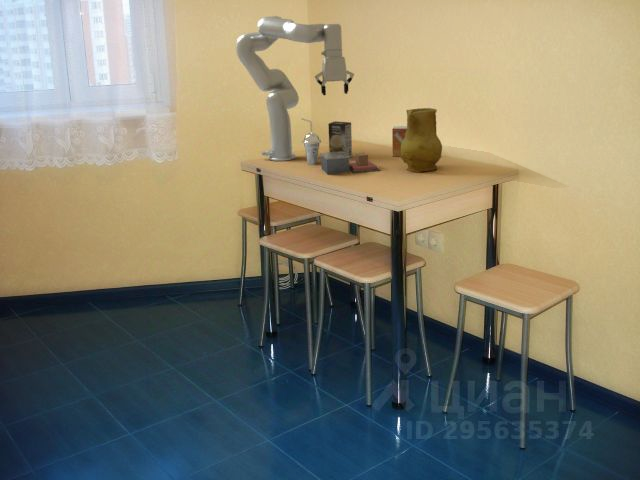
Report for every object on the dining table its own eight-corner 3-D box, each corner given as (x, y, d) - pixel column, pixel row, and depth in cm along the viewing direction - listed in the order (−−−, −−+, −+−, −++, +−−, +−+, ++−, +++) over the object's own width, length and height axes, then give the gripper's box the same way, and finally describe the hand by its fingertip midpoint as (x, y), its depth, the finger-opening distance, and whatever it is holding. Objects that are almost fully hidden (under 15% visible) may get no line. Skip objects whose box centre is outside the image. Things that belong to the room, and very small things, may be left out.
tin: (327, 174, 306) (326, 158, 304) (321, 169, 317) (320, 153, 315) (350, 172, 308) (349, 156, 306) (343, 166, 319) (342, 151, 317)
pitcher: (393, 168, 312) (392, 109, 304) (430, 162, 318) (430, 105, 311) (413, 175, 297) (413, 114, 289) (452, 169, 303) (453, 109, 296)
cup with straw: (307, 166, 324) (304, 121, 317) (300, 162, 332) (297, 118, 325) (325, 164, 326) (323, 119, 320) (317, 160, 335) (315, 116, 328)
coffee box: (328, 158, 339) (327, 123, 334) (335, 155, 344) (334, 121, 339) (345, 159, 334) (344, 124, 329) (352, 156, 339) (351, 122, 334)
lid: (353, 171, 308) (353, 157, 306) (347, 165, 319) (346, 152, 317) (376, 168, 310) (376, 155, 308) (369, 163, 321) (369, 150, 319)
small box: (392, 156, 335) (391, 128, 331) (393, 154, 340) (393, 126, 336) (410, 156, 333) (410, 128, 329) (411, 154, 339) (411, 125, 335)
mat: (353, 173, 306) (353, 172, 306) (344, 165, 321) (344, 164, 321) (380, 170, 308) (380, 169, 308) (370, 163, 323) (370, 162, 323)
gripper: (315, 55, 309) (317, 96, 314) (355, 53, 312) (356, 93, 317) (312, 54, 316) (313, 94, 321) (350, 52, 319) (352, 92, 324)
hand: (335, 94), depth 319 cm, fingers open, 9 cm apart
